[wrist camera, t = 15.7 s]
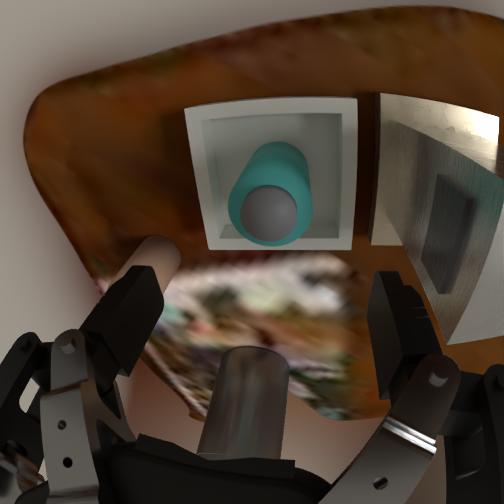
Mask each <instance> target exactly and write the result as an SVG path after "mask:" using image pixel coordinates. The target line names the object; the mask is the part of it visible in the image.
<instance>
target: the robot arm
mask: <svg viewBox="0 0 504 504" xmlns="http://www.w3.org/2000/svg"><path fill="white" fill-rule="evenodd" d="M163 308H164V298H163V294H162V291H161V289H160V286H159V283H158V280H157V277H156V273H155V270H154V268H153V267H152V266H146V265H132V266H131V267H130V268H129V270H128V271H127V272H126V273H125V275H124V276H123V277H121V278H120V279H119V280H117V281H116V282H115V283H113V284H112V285H111V286H110V287H109V289H108V290H107V291H106V293H105V296H103V297H102V298H101V299H100V301H99V303H97V305H96V306H95V307H94V309H93V310H92V312H91V313H90V314H89V316H88V317H87V318H86V320H85V321H84V322H83V324H82V325H81V327H80V328H79V329H78V330H77V329H70V330H67V331H64V332H63V333H61V334H60V335H59V336H58V337H57V338H56V339H55V341H54V342H44V343H42V342H41V341H40V339H39V337H38V336H37V335H36V334H35V333H34V332H28V333H25V334H23V335H22V336H20V337H19V338H18V339H17V340H16V341H15V343H14V344H13V346H12V348H11V349H10V350H9V352H8V353H7V355H6V356H5V358H4V360H3V361H2V363H1V364H0V504H404V503H405V502H406V500H407V499H408V497H409V496H410V495H411V493H412V492H413V490H414V488H415V487H416V485H417V484H418V482H419V480H420V479H421V477H422V476H423V474H424V473H425V471H426V469H427V467H428V466H429V464H430V462H431V460H432V458H433V456H434V454H435V451H436V445H434V443H435V440H436V438H437V436H438V435H443V436H444V445H445V458H446V485H447V486H446V487H447V488H446V489H447V490H446V491H447V494H446V495H447V497H446V504H504V365H502V364H495V365H492V366H490V367H489V368H488V369H487V371H486V372H485V373H484V375H482V374H476V373H470V372H464V371H460V369H459V367H458V365H457V364H456V362H455V361H454V360H453V359H451V358H450V357H448V356H446V355H444V354H443V353H442V350H441V348H440V345H439V342H438V339H437V336H436V334H435V331H434V328H433V326H432V323H431V320H430V318H428V316H429V315H428V313H427V310H426V309H425V306H424V303H423V301H422V298H421V296H420V295H419V294H418V292H417V291H416V290H415V289H414V288H413V287H412V286H411V285H403V282H402V280H401V277H400V275H399V273H398V271H376V272H375V275H374V279H373V284H372V288H371V293H370V297H369V302H368V307H367V322H368V327H369V333H370V338H371V344H372V349H373V355H374V362H375V368H376V375H377V382H378V390H379V398H380V400H385V399H390V401H391V409H390V410H389V412H388V413H387V415H386V416H385V418H384V419H383V421H382V422H381V424H380V425H379V426H378V428H377V429H376V431H375V432H374V433H373V435H372V436H371V438H370V439H369V440H368V442H367V443H366V444H365V446H364V447H363V448H362V450H361V451H360V452H359V453H358V455H357V456H356V457H355V458H354V459H353V461H352V462H351V463H350V464H349V465H348V466H347V468H346V469H345V470H344V471H343V472H342V473H341V474H340V476H339V477H338V478H337V479H336V480H335V481H334V482H333V483H332V484H330V483H328V482H327V481H325V480H324V479H322V478H321V477H319V476H317V475H315V474H313V473H311V472H309V471H306V470H304V469H300V468H296V467H295V460H284V459H280V457H281V450H282V441H283V432H284V423H285V413H286V403H287V394H288V382H289V368H290V367H289V365H288V363H287V361H286V360H285V359H284V358H283V357H281V356H280V355H278V354H276V353H274V352H272V351H269V350H266V349H261V348H254V347H242V348H236V349H233V350H230V351H228V352H226V353H225V354H224V355H223V357H222V359H221V363H220V367H219V371H218V374H217V378H216V382H215V385H214V389H213V392H212V396H211V400H210V404H209V407H208V411H207V415H206V419H205V423H204V427H203V430H202V434H201V438H200V441H199V445H198V449H197V453H196V454H194V453H192V452H190V451H188V450H186V449H184V448H182V447H180V446H178V445H176V444H174V443H172V442H168V441H164V440H160V439H156V438H153V437H150V436H146V435H143V434H139V436H138V439H136V437H135V435H134V434H133V432H132V431H131V429H130V427H129V425H128V423H127V420H126V416H125V412H124V409H123V405H122V401H121V397H120V393H119V388H118V385H117V382H116V380H115V378H116V376H117V374H119V375H123V376H127V377H129V376H130V374H131V372H132V370H133V368H134V366H135V364H136V362H137V360H138V358H139V356H140V354H141V352H142V350H143V348H144V346H145V344H146V342H147V340H148V338H149V336H150V334H151V333H152V331H153V329H154V327H155V325H156V323H157V321H158V319H159V317H160V315H161V314H162V311H163ZM30 378H32V379H33V380H34V381H35V382H36V383H37V384H38V385H39V386H40V387H39V390H38V391H37V393H36V395H35V397H34V399H33V401H32V403H31V405H30V407H29V409H28V411H27V412H26V413H25V412H24V411H23V410H22V409H21V408H20V405H19V399H20V397H21V395H22V393H23V391H24V389H25V387H26V385H27V384H28V382H29V380H30ZM43 459H45V466H46V472H47V478H48V480H47V481H45V480H44V477H43V476H42V475H40V474H39V473H38V472H39V470H40V467H41V464H42V461H43Z"/></svg>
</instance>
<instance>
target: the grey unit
mask: <svg viewBox="0 0 504 504" xmlns="http://www.w3.org/2000/svg"><path fill="white" fill-rule="evenodd" d="M498 126H499V117H496V116H493V115H490V114H486V113H483V112H479V111H476V110H472V109H468V108H464V107H460V106H456V105H452V104H447V103H442V102H438V101H432V100H427V99H421V98H415V97H409V96H402V95H394V94H385V93H376V92H375V152H374V172H373V187H372V199H371V209H370V219H369V228H368V238H369V241H370V244H371V245H403V246H404V248H405V250H406V252H407V254H408V256H409V258H410V260H411V262H412V264H413V266H414V268H415V270H416V272H417V274H418V276H419V279H420V281H421V283H422V285H423V287H424V289H425V292H426V294H427V296H428V299H429V301H430V303H431V306H432V308H433V310H434V313H435V315H436V318H437V320H438V323H439V326H440V328H441V331H442V334H443V336H444V339H445V342H446V345H449V344H456V343H463V342H469V341H475V340H481V339H486V338H492V337H497V336H502V335H504V146H502V145H500V144H498V143H497V138H498Z"/></svg>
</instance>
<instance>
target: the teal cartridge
mask: <svg viewBox="0 0 504 504" xmlns="http://www.w3.org/2000/svg"><path fill="white" fill-rule="evenodd" d="M228 213H229V217H230V220H231V222H232V224H233V226H234V227H235V229H236V230H237V231H238V232H239V233H240V234H241V235H242V236H243V237H245V238H246V239H248V240H249V241H251V242H253V243H256V244H259V245H263V246H272V247H273V246H282V245H286V244H289V243H291V242H293V241H295V240H296V239H298V238H299V237H300V236H301V235H302V234H303V233H304V232H305V231H306V230H307V228H308V226H309V225H310V222H311V219H312V215H313V205H312V196H311V187H310V179H309V171H308V164H307V161H306V159H305V157H304V155H303V154H302V152H301V151H300V150H299V149H297V148H296V147H295V146H293V145H291V144H289V143H285V142H270V143H267V144H264V145H263V146H261V147H259V148H258V149H257V150H256V151H255V152H254V154H253V155H252V157H251V158H250V160H249V162H248V163H247V165H246V167H245V168H244V170H243V172H242V173H241V175H240V177H239V178H238V180H237V182H236V184H235V185H234V187H233V189H232V191H231V193H230V195H229V199H228Z"/></svg>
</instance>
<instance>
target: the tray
mask: <svg viewBox="0 0 504 504" xmlns="http://www.w3.org/2000/svg"><path fill="white" fill-rule="evenodd" d="M184 111H185V118H186V124H187V131H188V137H189V143H190V149H191V155H192V161H193V167H194V173H195V179H196V184H197V190H198V195H199V201H200V206H201V211H202V217H203V222H204V227H205V232H206V237H207V242H208V247H209V250H351V244H352V235H353V224H354V212H355V197H356V179H357V148H358V114H357V99H355V98H351V97H337V96H288V97H267V98H253V99H242V100H232V101H224V102H216V103H209V104H202V105H197V106H193V107H189V108H185V109H184ZM270 142H285V143H289V144H291V145H293V146H295V147H296V148H297V149H299V150H300V151H301V152H302V154H303V155H304V157H305V159H306V161H307V164H308V171H309V179H310V187H311V196H312V205H313V215H312V219H311V222H310V225H309V226H308V228H307V230H306V231H305V232H304V233H303V234H302V235H301V236H300V237H299V238H298V239H296V240H295V241H293V242H291V243H289V244H286V245H282V246H273V247H272V246H263V245H259V244H256V243H253V242H251V241H249V240H248V239H246V238H245V237H243V236H242V235H241V234H240V233H239V232H238V231H237V230H236V229H235V227H234V226H233V224H232V222H231V220H230V217H229V213H228V199H229V195H230V193H231V191H232V189H233V187H234V185H235V184H236V182H237V180H238V178H239V177H240V175H241V173H242V172H243V170H244V168H245V167H246V165H247V163H248V162H249V160H250V158H251V157H252V155H253V154H254V152H255V151H256V150H257V149H258V148H259V147H261V146H263V145H264V144H267V143H270Z"/></svg>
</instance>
